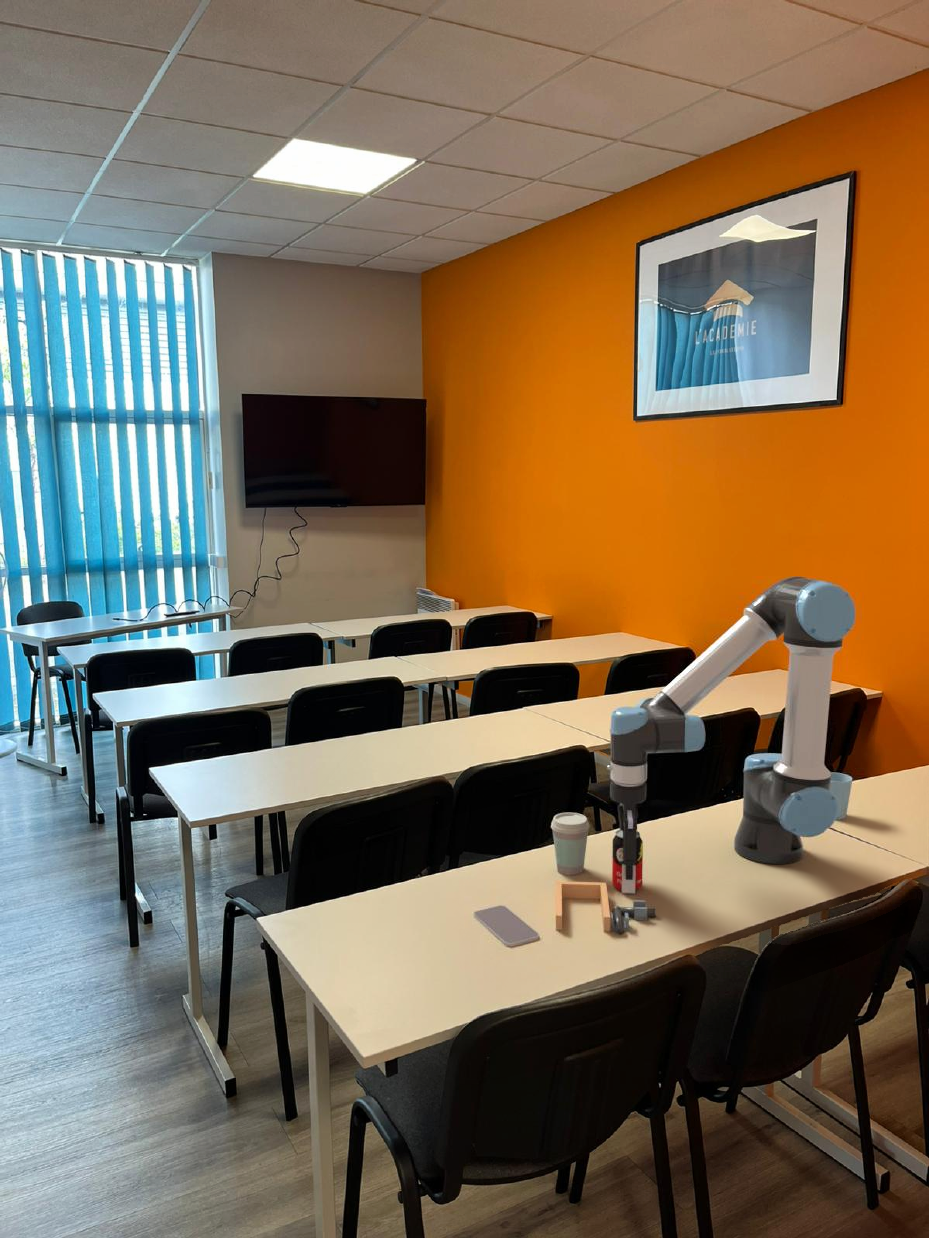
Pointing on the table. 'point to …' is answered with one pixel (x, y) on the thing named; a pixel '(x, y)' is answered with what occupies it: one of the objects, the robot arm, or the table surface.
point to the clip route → (637, 911)
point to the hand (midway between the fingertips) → (627, 884)
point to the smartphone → (506, 925)
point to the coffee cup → (570, 842)
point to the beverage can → (618, 857)
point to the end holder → (582, 891)
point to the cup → (841, 792)
